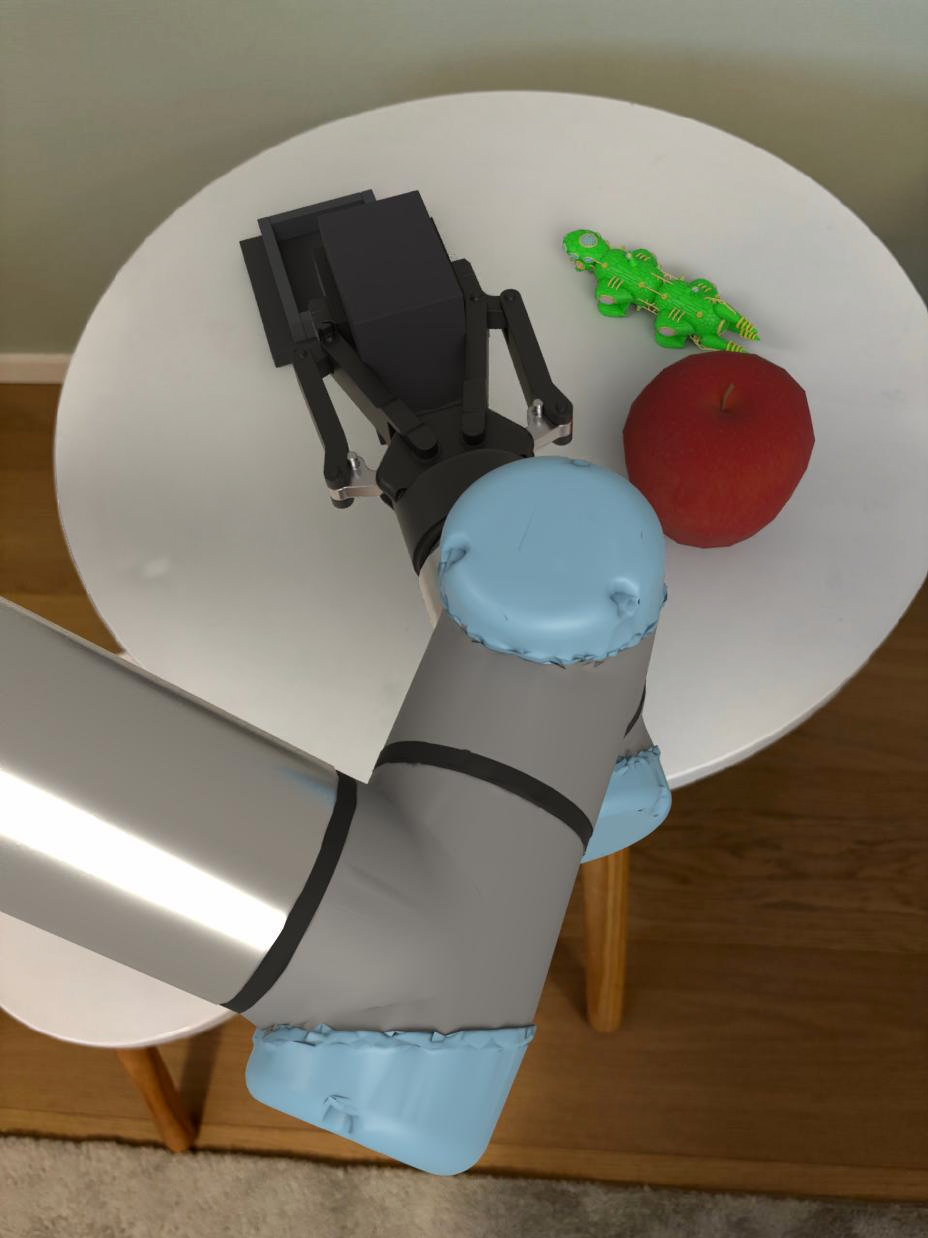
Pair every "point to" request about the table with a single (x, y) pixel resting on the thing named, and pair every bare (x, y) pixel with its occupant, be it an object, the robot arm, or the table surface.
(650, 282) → the crocodile figurine
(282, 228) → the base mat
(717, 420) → the apple
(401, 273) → the pad block
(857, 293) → the table surface
